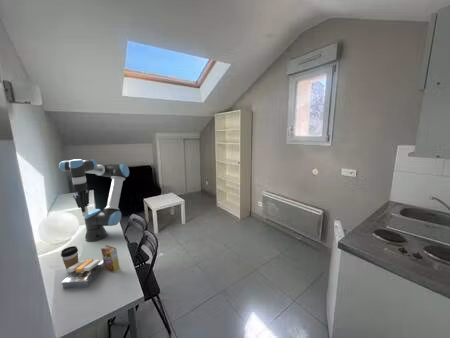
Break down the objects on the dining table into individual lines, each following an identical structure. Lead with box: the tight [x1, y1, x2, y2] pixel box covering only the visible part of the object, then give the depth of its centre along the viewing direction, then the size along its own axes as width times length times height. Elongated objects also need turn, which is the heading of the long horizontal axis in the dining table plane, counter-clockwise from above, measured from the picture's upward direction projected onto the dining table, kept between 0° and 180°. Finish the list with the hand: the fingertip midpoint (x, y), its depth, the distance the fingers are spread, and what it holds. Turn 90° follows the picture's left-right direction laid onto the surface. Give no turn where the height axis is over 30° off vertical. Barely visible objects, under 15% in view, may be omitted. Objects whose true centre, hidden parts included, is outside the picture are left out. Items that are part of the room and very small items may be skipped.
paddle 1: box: [68, 259, 87, 272], centre depth 117 cm, size 11×3×2 cm, turn 3°
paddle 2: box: [84, 259, 102, 271], centre depth 118 cm, size 11×3×2 cm, turn 3°
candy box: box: [100, 244, 120, 273], centre depth 122 cm, size 9×4×15 cm, turn 69°
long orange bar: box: [75, 258, 94, 272], centre depth 117 cm, size 11×3×2 cm, turn 3°
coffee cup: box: [60, 245, 79, 274], centre depth 122 cm, size 8×8×15 cm
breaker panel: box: [61, 259, 105, 289], centre depth 118 cm, size 18×14×5 cm
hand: (85, 215), depth 132 cm, fingers closed
